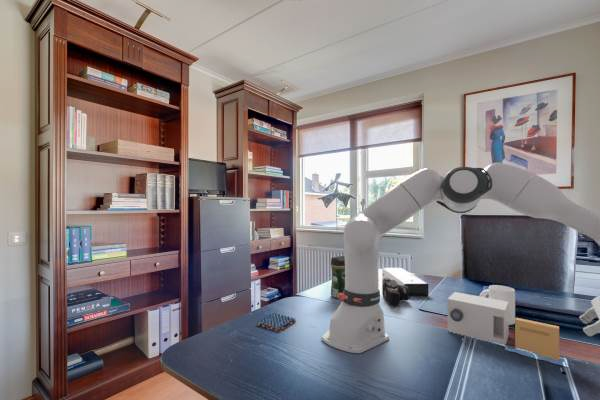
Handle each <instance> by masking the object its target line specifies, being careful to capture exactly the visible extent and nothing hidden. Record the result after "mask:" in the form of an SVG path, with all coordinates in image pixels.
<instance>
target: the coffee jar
mask: <svg viewBox="0 0 600 400" xmlns="http://www.w3.org/2000/svg"><path fill="white" fill-rule="evenodd" d="M330 259H331V260H330V268H331V285H330V296H331V297H333V298H334V299H338V295H339V293H342V294H343V291H344V288H345V256H344V255H341V256H340V255H339V256H333V257H331V258H330Z"/></svg>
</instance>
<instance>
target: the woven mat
mask: <svg viewBox="0 0 600 400" xmlns="http://www.w3.org/2000/svg"><path fill="white" fill-rule="evenodd" d="M257 322H258V323H257V326H261V327H262V328H266V329H267V330H273V331H275V332H278V333H280V332H283V331H284V330H286V329H288V328H289V327H290V326H293V324H295V323H297V320H296V318H295V317H292V316H291V317H290V316H289V315H288V316H287V315H283V314H280V313H277V312H274V313H273V312H272V313H271V314H268V315H267V316H266V317H263V318H261V319H260V320H257Z"/></svg>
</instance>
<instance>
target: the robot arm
mask: <svg viewBox="0 0 600 400" xmlns="http://www.w3.org/2000/svg"><path fill="white" fill-rule="evenodd" d="M484 199H486V200H491V201H492V200H493V201H496V202H498V203H500V204H502V205H503V206H505V207H506V208H509V209H511V210H513V211H514V212H517V213H519V214H521V215H523V216H528V217H530V218H534V219H545V220H551V221H555V222H558V223H561V224H563V225H565V226H567V227H569V228H571V229H573V230H574V231H577V232H579V233H581V234H583V235H586V236H587V237H589V238H590V239H592V240H593V241H594V242H595V243H596V244H597V245H598V247H599V248H600V214H598V213H595V212H594V211H592V210H590V209H587V208H586V207H583V206H582V205H581V206H580V205H579V204H577V203H576V202H573V201H572V200H571V199H569V197H568V196H566V195H565V193H564V192H563V191H562V190H561V189H560V188H559V187H558V186H556V185H555V184H553V183H552V182H550V181H549V180H547V179H545V178H543V177H542V176H539V175H537V174H536V173H535V174H534V173H533V172H530V171H528V170H525V169H523V168H520V167H518V166H514V165H511V164H508V163H503V162H493V163H491V164H488V165H487V166H486V167H485V168H482V167H470V166H458V167H456V168H453V169H451V170H449V171H448V172H447V173H446V174H445V176H443V175H441V174H439V173H438V171H436V170H434V169H431V168H427V167H426V168H425V167H424V168H422V169H419V170H418V171H416V172H414V173H412V174H411V175H409V176H407V177H406V178H404V179H402V180H401V181H400V182H398V183H397V184H396V185H394V186H393V187H392V188H390V189H389V190H388V191H387V192H385V193H384V194H382V195H381V196H380V197H378V198H377V199H376V200H375V201H373V202H372V203H371V204H370V205H368V206H366V207H365V208H364V209H362V210H361V211H360V212H358V213H357V214H356V215H354V216H353V217H352V218H350V219H349V220H348V222H346V224H345V226H344V227H343V250H344V251H343V252H344V255H343V256H345V288H344V291H343V294H342V293H339V295H338V298H337V299H338V300H341V302H340V304H339V306H337V307H338V308H337V309H336V310H335V312H334V313H333V315H332V316H331V319H330V322H329V329H328V330H327V331H325V332H324V334H323V335H322V336H321V340H322V342H323V343H324V344H327V345H329V347H333V348H335V349H337V350H340V351H343V352H347V353H353V354H361V353H364V352H366V351H368V350H370V349H372V348H374V347H376V346H378V345H381V344H383V343H384V342H387V341H388V340H389V339H390V338H389V337H390V336H389V334H388V333H387V332H386V330H385V329H386V328H385V315H384V311H383V309H382V307H381V305H380V302H381V291H380V289H379V257H380V255H379V254H380V253H379V251H380V250H379V249H380V247H379V245H380V238H381V237H383V236H384V235H385V234H387V233H389V232H390V231H393V229H395V228H397V227H399V226H400V225H403V223H405V222H406V221H407V220H409V219H410V218H412V217H413V216H415V215H416V214H418V213H419V212H420V211H421V210H422V209H424V208H425V207H428V205H430V204H431V203H434V202H436V203H437V204H439V205H440V206H442V207H443V208H445V209H447V210H448V211H450V212H453V213H456V214H465V213H468V212H471V211H472V210H473V209H475V208H476V207H477V205H478V204H479V202H480V201H481V200H484ZM590 303H591V305H592V307H589V308H588V310H586V311H585V312H584V313H583V314H581V315H580V316H579V317H578V319H579V320H580V321H581V322H582V323H583V324H584V325H586V324H588V323H589V324H590V323H591V322H592V321H593V320H594V319H595V318H598V320H597V321H595V323H594V322H593V324H590V325H589V324H588V325H586V326H584V327H583V328H582V331H583V332H584V333H585V335H587V337H593V336H595V335H596V334H600V294H598V296H595V297H594V298H593V299H592V300H590Z"/></svg>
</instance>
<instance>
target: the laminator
mask: <svg viewBox="0 0 600 400" xmlns="http://www.w3.org/2000/svg"><path fill="white" fill-rule="evenodd" d="M381 270H382V279H383V278H385V277H387V278H390V279H394V280H395V281H396V282H397V283H398V285H405V286H407V287H408V288H409V292H410V297H415V296H416V297H422V296H423V297H428V296H429V283H427V282H426V281H424V280H423V279H421V278H419V277H417V275H414V274H412V273H411V272H409V271H408V270H406V269H405V268H402V267H382V269H381Z"/></svg>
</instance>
